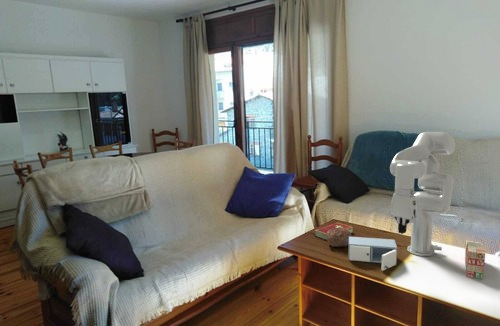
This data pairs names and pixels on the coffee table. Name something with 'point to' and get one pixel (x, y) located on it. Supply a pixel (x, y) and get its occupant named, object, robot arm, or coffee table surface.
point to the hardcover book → (323, 231)
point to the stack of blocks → (474, 259)
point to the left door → (389, 259)
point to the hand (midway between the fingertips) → (402, 232)
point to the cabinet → (369, 248)
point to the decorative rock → (338, 237)
